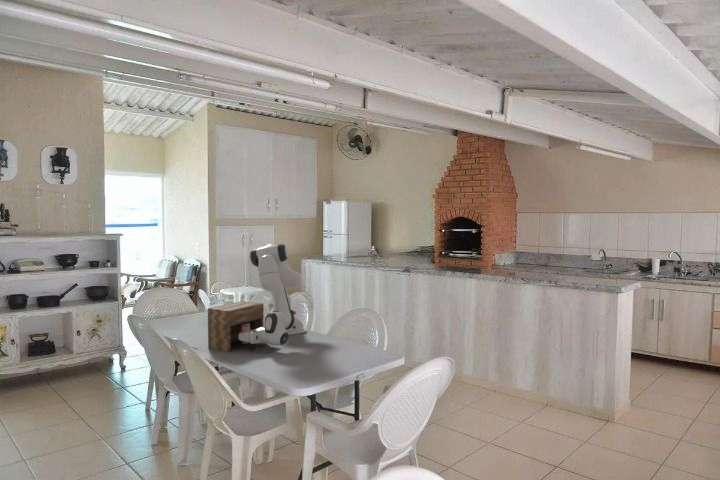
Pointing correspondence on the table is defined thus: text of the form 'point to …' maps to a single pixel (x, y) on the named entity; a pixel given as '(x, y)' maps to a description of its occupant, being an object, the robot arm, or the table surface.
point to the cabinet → (232, 322)
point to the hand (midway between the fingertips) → (244, 332)
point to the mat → (265, 349)
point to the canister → (245, 328)
